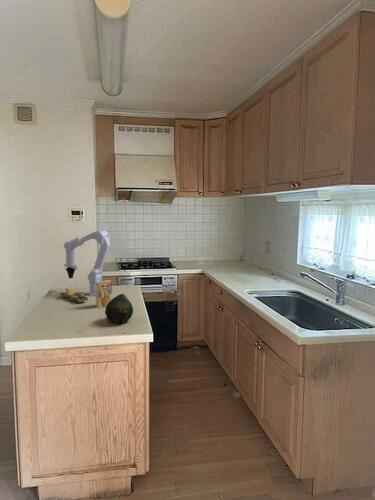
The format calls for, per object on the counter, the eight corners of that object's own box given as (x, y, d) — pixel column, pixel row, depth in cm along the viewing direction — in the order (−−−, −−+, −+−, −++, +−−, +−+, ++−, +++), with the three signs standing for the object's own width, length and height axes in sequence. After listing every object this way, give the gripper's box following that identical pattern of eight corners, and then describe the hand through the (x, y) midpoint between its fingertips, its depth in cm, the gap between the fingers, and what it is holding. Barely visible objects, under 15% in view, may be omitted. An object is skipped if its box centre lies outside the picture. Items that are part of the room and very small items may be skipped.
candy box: (109, 304, 229) (109, 279, 227) (112, 305, 225) (112, 281, 223) (95, 306, 223) (95, 281, 221) (99, 308, 220) (98, 282, 218)
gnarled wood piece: (88, 302, 232) (88, 293, 231) (78, 304, 227) (78, 295, 226) (69, 295, 248) (69, 287, 247) (59, 297, 243) (59, 288, 242)
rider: (74, 294, 240) (74, 288, 240) (68, 295, 237) (68, 289, 237) (71, 293, 243) (71, 287, 242) (65, 294, 240) (65, 288, 240)
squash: (101, 316, 187) (120, 293, 189) (99, 309, 201) (117, 287, 203) (122, 332, 191) (141, 310, 192) (119, 324, 205) (137, 303, 207)
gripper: (59, 258, 256) (60, 277, 258) (70, 260, 246) (70, 280, 248) (69, 257, 261) (69, 276, 263) (79, 259, 251) (80, 279, 253)
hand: (70, 278), depth 256 cm, fingers closed
